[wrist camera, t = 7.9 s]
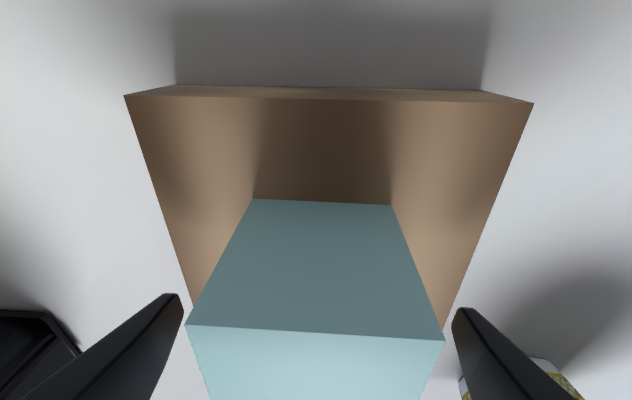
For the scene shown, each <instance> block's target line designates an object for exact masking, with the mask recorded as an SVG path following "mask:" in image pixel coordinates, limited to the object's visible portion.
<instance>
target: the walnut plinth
mask: <svg viewBox="0 0 632 400" xmlns="http://www.w3.org/2000/svg"><path fill="white" fill-rule="evenodd" d="M123 96H124V99H125V102H126V105H127V108H128V111H129V114H130V117H131V120H132V123H133V126H134V129H135V132H136V135H137V138H138V141H139V144H140V147H141V150H142V153H143V156H144V159H145V162H146V165H147V168H148V171H149V174H150V177H151V180H152V183H153V186H154V189H155V192H156V195H157V198H158V201H159V204H160V207H161V210H162V213H163V216H164V219H165V222H166V225H167V228H168V231H169V234H170V237H171V240H172V243H173V246H174V249H175V252H176V255H177V258H178V261H179V264H180V267H181V270H182V273H183V276H184V279H185V282H186V285H187V288H188V291H189V294H190V297H191V300H192V303H193V306H194V305H195V304H196V302H197V300H198V298H199V296H200V294H201V292H202V291H203V289H204V287H205V285H206V283H207V281H208V279H209V278H210V276H211V274H212V272H213V270H214V268H215V266H216V265H217V263H218V261H219V259H220V257H221V255H222V253H223V252H224V250H225V248H226V246H227V244H228V242H229V240H230V239H231V237H232V235H233V233H234V231H235V229H236V227H237V226H238V224H239V222H240V220H241V218H242V216H243V214H244V213H245V211H246V209H247V207H248V205H249V203H250V201H251V200H252V198H253V199H274V200H294V201H315V202H336V203H356V204H377V205H392V207H393V210H394V212H395V215H396V217H397V220H398V222H399V225H400V227H401V230H402V232H403V235H404V237H405V240H406V242H407V245H408V247H409V250H410V252H411V255H412V257H413V260H414V262H415V265H416V267H417V270H418V272H419V275H420V278H421V280H422V283H423V285H424V288H425V290H426V293H427V295H428V298H429V300H430V303H431V305H432V308H433V310H434V313H435V315H436V318H437V320H438V323H439V325H440V328H441V330H443V327H444V325H445V322H446V320H447V318H448V315H449V313H450V310H451V308H452V305H453V303H454V300H455V298H456V295H457V293H458V290H459V288H460V286H461V283H462V281H463V278H464V276H465V273H466V271H467V268H468V266H469V263H470V261H471V258H472V256H473V253H474V251H475V249H476V246H477V244H478V241H479V239H480V236H481V234H482V231H483V229H484V226H485V224H486V221H487V219H488V217H489V214H490V212H491V209H492V207H493V204H494V202H495V199H496V197H497V194H498V192H499V189H500V187H501V184H502V182H503V180H504V177H505V175H506V172H507V170H508V167H509V165H510V162H511V160H512V157H513V155H514V152H515V150H516V148H517V145H518V143H519V140H520V138H521V135H522V133H523V130H524V128H525V125H526V123H527V120H528V118H529V115H530V113H531V111H532V108H533V106H534V103H531V102H527V101H523V100H519V99H515V98H511V97H507V96H503V95H499V94H495V93H491V92H487V91H483V90H450V89H395V88H340V87H285V86H230V85H170V86H166V87H161V88H156V89H151V90H146V91H141V92H136V93H132V94H127V95H123Z"/></svg>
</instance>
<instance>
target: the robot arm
mask: <svg viewBox="0 0 632 400" xmlns="http://www.w3.org/2000/svg"><path fill="white" fill-rule="evenodd" d="M183 315H184V309H183V306H182V304H181V301H180V298H179V296H178V295H177V294H175V293H164V294H162V295H161V296H159V297H158V298H157V299H155V300H154V301H152V302H151V303H150V304H148V305H147V306H146V307H144V308H143V309H142V310H140V311H139V312H138V313H136V314H135V315H133V316H132V317H131V318H129V319H128V320H127V321H125V322H124V323H123V324H121V325H120V326H119V327H117V328H116V329H114V330H113V331H112V332H110V333H109V334H108V335H106V336H105V337H104V338H102V339H101V340H100V341H98V342H97V343H95V344H94V345H93V346H91V347H90V348H89V349H87V350H86V351H85V352H83V353H82V354H81V355H80V354H79V353H78V352H77V350H76V349H75V348H74V346H73V345H72V344H71V342H70V341H69V340H68V338H67V337H66V336H65V334H64V333H63V332H62V331H61V329H60V328H59V327H58V325H57V324H56V323H55V321H54V320H53V319H52V318H51V317H50V316H49V315H47V314H45V313H34V312H15V311H0V400H150V397H151V395H152V393H153V391H154V389H155V387H156V385H157V383H158V380H159V378H160V376H161V374H162V372H163V370H164V367H165V365H166V362H167V360H168V357H169V355H170V352H171V349H172V346H173V344H174V341H175V338H176V335H177V332H178V330H179V327H180V324H181V321H182V319H183ZM451 329H452V334H453V338H454V341H455V345H456V349H457V353H458V356H459V360H460V364H461V368H462V371H463V375H464V379H465V382H466V385H467V388H468V391H469V394H470V396H471V399H472V400H576V399H575V398H574V397H573V396H572V395H571V394H570V393H568V392H567V391H566V390H565V389H564V388H563V387H562V386H561V385H559V384H558V383H557V382H556V381H555V380H554V379H553V378H552V377H550V376H549V375H548V374H547V373H546V372H545V371H544V370H543V369H541V368H540V367H539V366H538V365H537V364H536V363H535V362H534V361H532V360H531V359H530V358H529V357H528V356H527V355H526V354H525V353H523V352H522V351H521V350H520V349H519V348H518V347H517V346H516V345H514V344H513V343H512V342H511V341H510V340H509V339H508V338H507V337H505V336H504V335H503V334H502V333H501V332H500V331H499V330H498V329H496V328H495V327H494V326H493V325H492V324H491V323H490V322H489V321H487V320H486V319H485V318H484V317H483V316H482V315H481V314H480V313H478V312H477V311H476V310H475V309H473V308H466V307H460V308H458V310H457V312H456V314H455V316H454V319H453V321H452V324H451Z"/></svg>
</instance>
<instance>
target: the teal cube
mask: <svg viewBox="0 0 632 400" xmlns="http://www.w3.org/2000/svg"><path fill="white" fill-rule="evenodd" d="M184 325H185V328H186V331H187V334H188V337H189V339H190V342H191V345H192V348H193V351H194V354H195V356H196V359H197V362H198V365H199V368H200V370H201V373H202V376H203V379H204V382H205V385H206V387H207V390H208V393H209V396H210V399H211V400H419V399H420V396H421V394H422V392H423V390H424V388H425V385H426V383H427V381H428V379H429V377H430V375H431V372H432V370H433V368H434V366H435V364H436V361H437V359H438V357H439V355H440V353H441V351H442V348H443V346H444V344H445V342H446V340H445V338H444V335H443V333H442V330H441V328H440V325H439V323H438V320H437V318H436V315H435V313H434V310H433V308H432V305H431V303H430V300H429V298H428V295H427V293H426V290H425V288H424V285H423V283H422V280H421V278H420V275H419V272H418V270H417V267H416V265H415V262H414V260H413V257H412V255H411V252H410V250H409V247H408V245H407V242H406V240H405V237H404V235H403V232H402V230H401V227H400V225H399V222H398V220H397V217H396V215H395V212H394V210H393V207H392V205H377V204H356V203H336V202H315V201H294V200H274V199H253V198H252V200H251V201H250V203H249V205H248V207H247V209H246V211H245V213H244V214H243V216H242V218H241V220H240V222H239V224H238V226H237V227H236V229H235V231H234V233H233V235H232V237H231V239H230V240H229V242H228V244H227V246H226V248H225V250H224V252H223V253H222V255H221V257H220V259H219V261H218V263H217V265H216V266H215V268H214V270H213V272H212V274H211V276H210V278H209V279H208V281H207V283H206V285H205V287H204V289H203V291H202V292H201V294H200V296H199V298H198V300H197V302H196V304H195V305H194V307H193V309H192V311H191V313H190V315H189V317H188V318H187V320H186V322H185V324H184Z"/></svg>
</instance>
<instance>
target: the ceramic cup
mask: <svg viewBox="0 0 632 400" xmlns="http://www.w3.org/2000/svg"><path fill="white" fill-rule="evenodd" d="M529 358H530V359H531V360H532V361H534V362H535V363H536V364H537V365H538V366H539V367H540V368H541V369H543V370H544V371H545V372H546V373H547V374H548V375H549V376H550V377H552V378H553V379H554V380H555V381H556V382H557V383H558V384H559V385H561V386H562V387H563V388H564V389H565V390H566V391H567V392H568V393H570V394H571V395H572V396H573V397H574V398H575V399H576V400H585V399H584V398H583V397H582V396H581V395H580V394H579V393H578V392H577V390H576V389H575V388H574V387H573V386H572V385H571V384H570V383H569V382H568V380H567V379H566V378H565V377H564V376H563V375H562V374H561V373H560V372H559V371H558V370H557V369H556V368H555V367H554V366H553V364H551V363H550V362H549V361H548V360H545V359H539V358H533V357H529ZM459 390H460V394H461V398H462V400H472V399H471V396H470V394H469V391H468V388H467V385H466V382H465V379H464V377H463V378H462V379H461V380H460V381H459Z"/></svg>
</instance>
